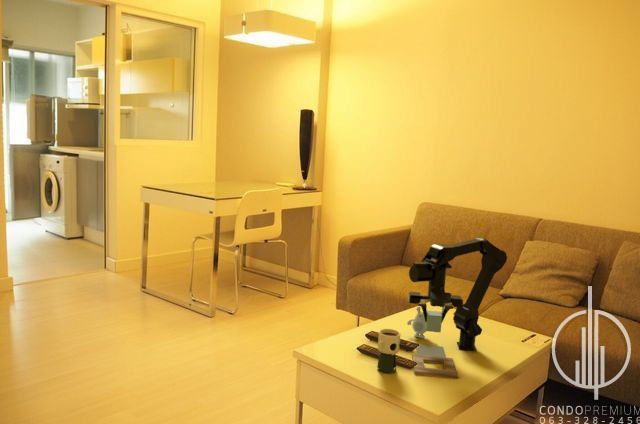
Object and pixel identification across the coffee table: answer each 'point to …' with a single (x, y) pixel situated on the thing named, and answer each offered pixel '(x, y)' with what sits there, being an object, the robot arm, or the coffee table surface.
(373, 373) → the coffee table surface
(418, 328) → the toy figure
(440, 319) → the slate block
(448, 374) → the walnut pocket plate
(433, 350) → the rubber mat
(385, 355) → the character mug
